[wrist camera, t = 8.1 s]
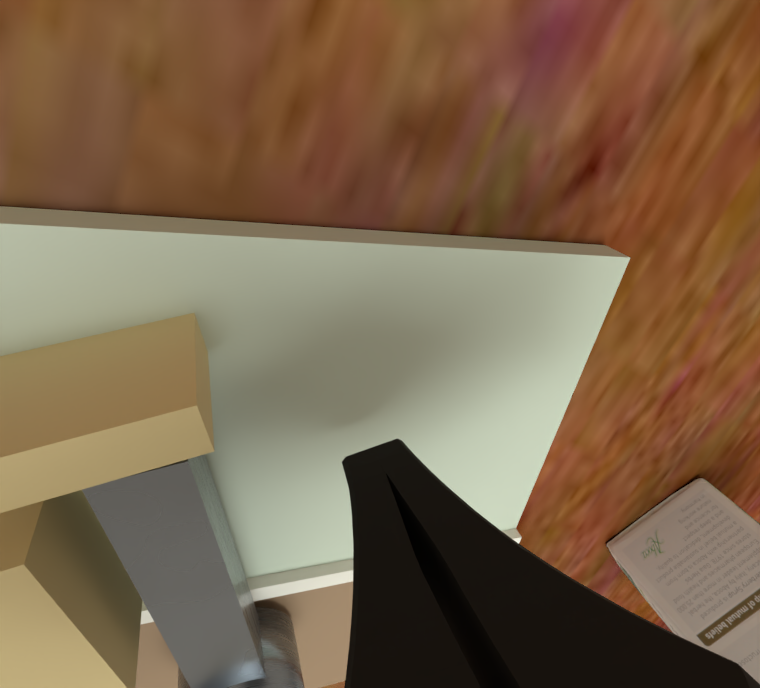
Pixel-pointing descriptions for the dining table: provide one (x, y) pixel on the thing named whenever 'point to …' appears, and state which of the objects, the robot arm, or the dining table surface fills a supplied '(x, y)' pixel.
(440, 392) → the board
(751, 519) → the syrup box
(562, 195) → the dining table surface
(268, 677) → the latch bar
